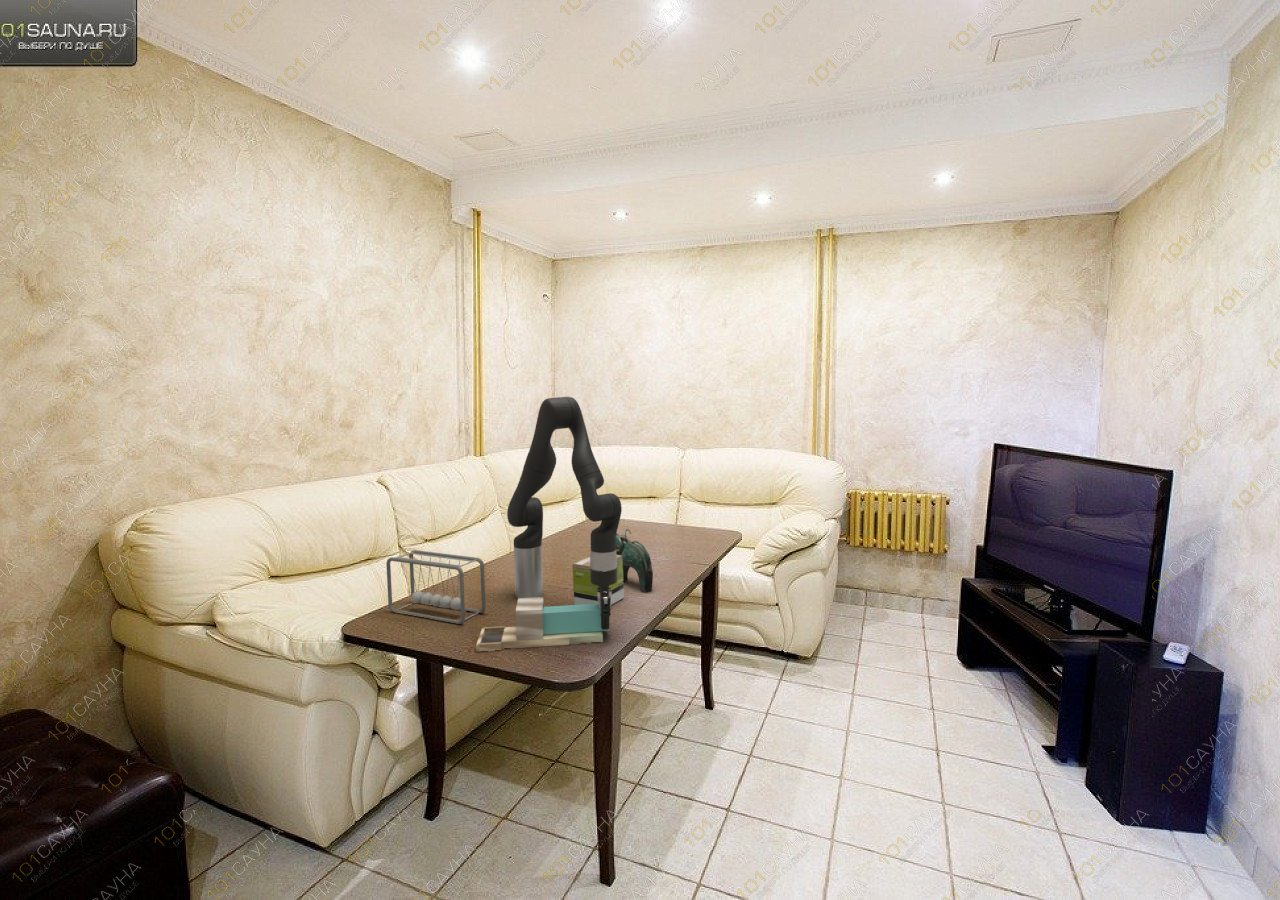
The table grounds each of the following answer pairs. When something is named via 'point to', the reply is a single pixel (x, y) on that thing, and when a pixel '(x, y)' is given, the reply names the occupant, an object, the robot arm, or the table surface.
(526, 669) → the table surface
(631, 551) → the ceramic cat
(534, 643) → the tunnel track
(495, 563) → the table surface
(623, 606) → the table surface
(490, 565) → the table surface
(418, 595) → the newton's cradle
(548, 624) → the teal block
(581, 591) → the tea box
